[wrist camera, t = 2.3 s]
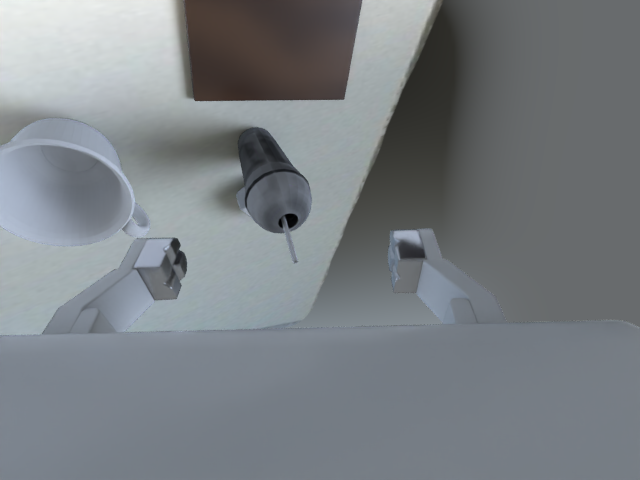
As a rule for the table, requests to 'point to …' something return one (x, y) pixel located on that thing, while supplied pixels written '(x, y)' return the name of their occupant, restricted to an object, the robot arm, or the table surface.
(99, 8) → the table surface
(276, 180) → the beverage cup
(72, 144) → the teacup
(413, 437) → the robot arm
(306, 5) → the mat
